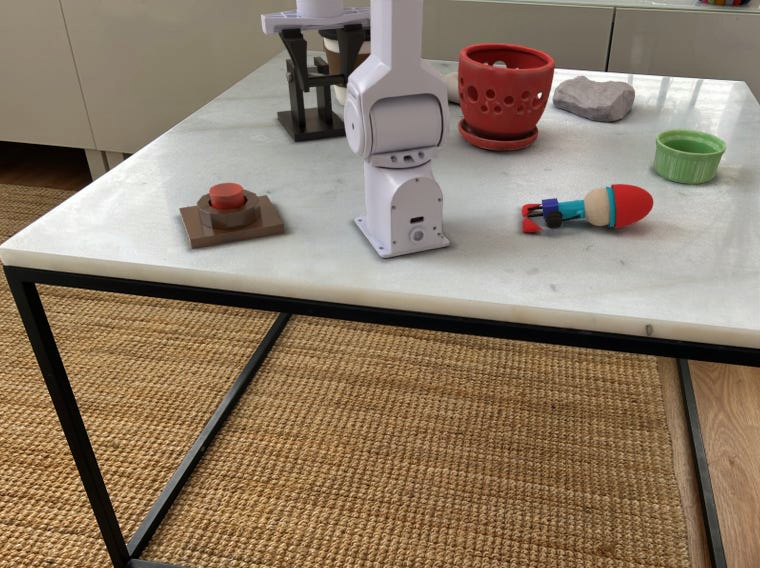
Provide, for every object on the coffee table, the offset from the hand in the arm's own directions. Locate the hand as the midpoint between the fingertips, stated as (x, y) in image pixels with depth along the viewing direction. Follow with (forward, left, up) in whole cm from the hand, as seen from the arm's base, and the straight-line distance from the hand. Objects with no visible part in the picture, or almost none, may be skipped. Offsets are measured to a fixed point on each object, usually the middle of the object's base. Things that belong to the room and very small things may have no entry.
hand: (326, 88), depth 95 cm
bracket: (+9, 0, -8) cm, 12 cm away
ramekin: (-24, -42, -8) cm, 49 cm away
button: (-18, +17, -6) cm, 26 cm away
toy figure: (-32, -21, -8) cm, 39 cm away
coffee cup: (+18, -10, -8) cm, 22 cm away
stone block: (+2, -44, -8) cm, 45 cm away
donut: (+14, -28, -8) cm, 32 cm away
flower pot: (-5, -24, -8) cm, 26 cm away
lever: (+4, 0, -1) cm, 5 cm away
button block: (-18, +17, -8) cm, 26 cm away
